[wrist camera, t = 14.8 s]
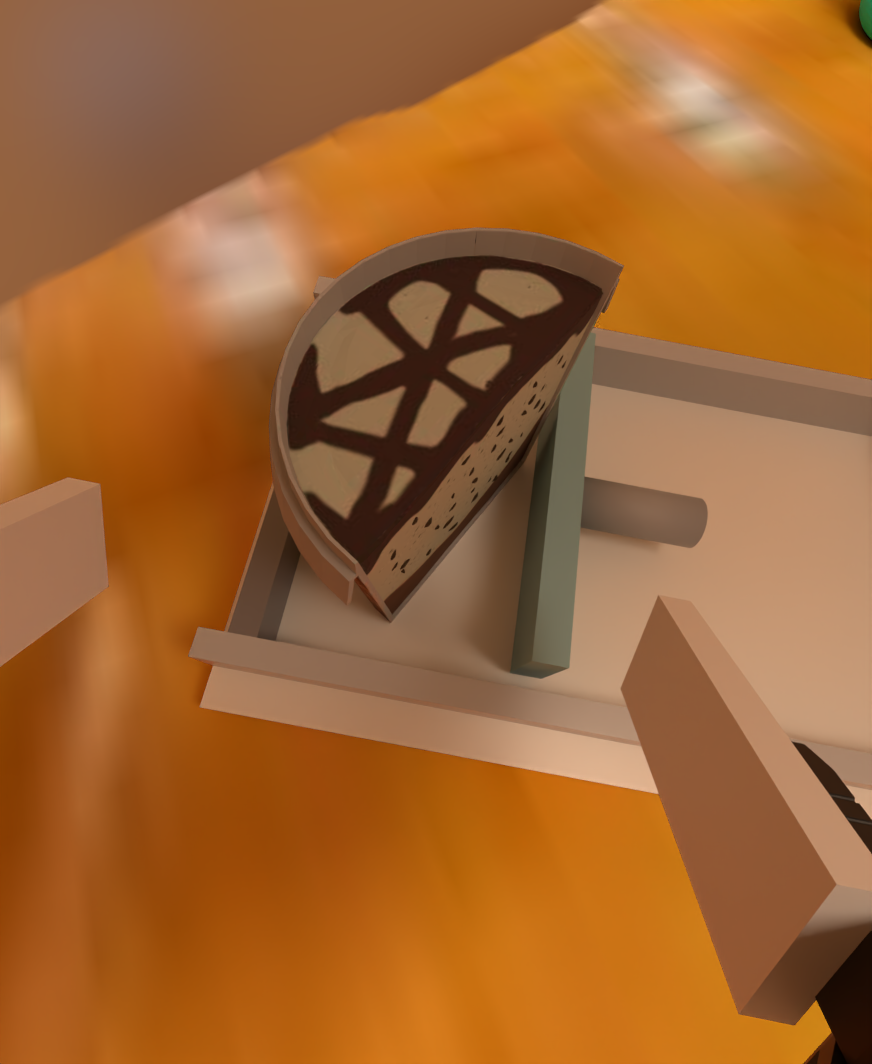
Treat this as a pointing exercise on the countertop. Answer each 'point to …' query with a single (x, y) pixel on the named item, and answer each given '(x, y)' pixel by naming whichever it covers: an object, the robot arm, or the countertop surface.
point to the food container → (423, 397)
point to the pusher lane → (602, 584)
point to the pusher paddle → (580, 525)
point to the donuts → (866, 16)
